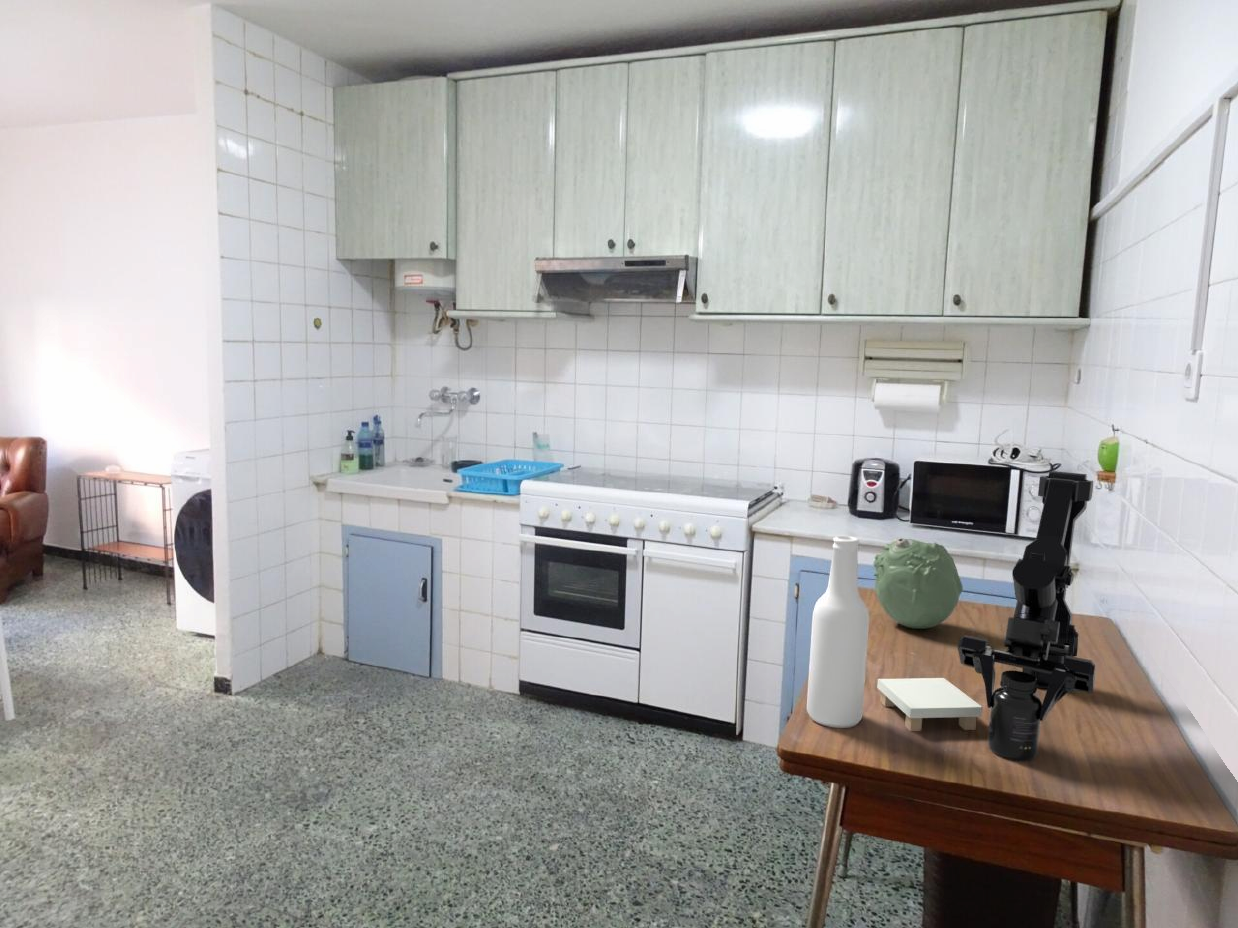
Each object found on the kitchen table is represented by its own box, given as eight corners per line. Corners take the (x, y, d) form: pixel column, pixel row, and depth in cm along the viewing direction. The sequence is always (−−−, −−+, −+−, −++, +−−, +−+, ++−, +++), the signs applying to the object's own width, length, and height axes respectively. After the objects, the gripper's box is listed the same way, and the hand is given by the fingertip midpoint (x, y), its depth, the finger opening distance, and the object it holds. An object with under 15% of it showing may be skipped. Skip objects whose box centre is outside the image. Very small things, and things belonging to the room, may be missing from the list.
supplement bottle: (978, 741, 127) (985, 667, 125) (1020, 740, 128) (1027, 667, 126) (1002, 762, 120) (1010, 684, 119) (1046, 762, 121) (1055, 684, 119)
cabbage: (958, 644, 172) (966, 551, 169) (865, 630, 179) (871, 540, 177) (958, 623, 186) (966, 537, 184) (872, 611, 193) (879, 528, 191)
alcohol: (840, 703, 139) (852, 531, 136) (873, 725, 131) (887, 542, 127) (795, 709, 136) (807, 533, 133) (826, 732, 128) (839, 545, 124)
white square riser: (941, 699, 142) (943, 677, 142) (979, 730, 131) (982, 706, 130) (876, 701, 141) (877, 678, 140) (908, 732, 129) (910, 708, 129)
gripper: (965, 585, 129) (943, 672, 122) (1101, 608, 119) (1086, 705, 111) (971, 621, 137) (950, 705, 129) (1100, 646, 126) (1085, 739, 119)
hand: (1014, 713), depth 122 cm, fingers closed on supplement bottle, 7 cm apart
